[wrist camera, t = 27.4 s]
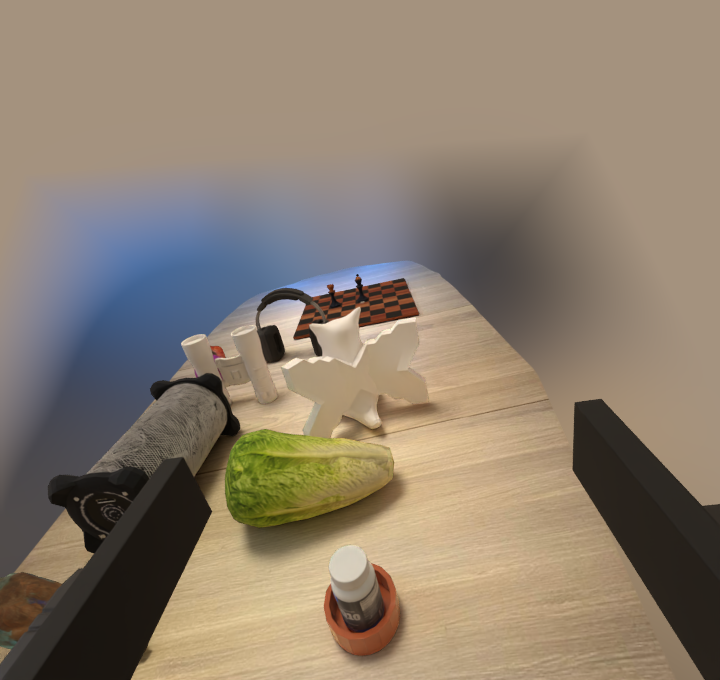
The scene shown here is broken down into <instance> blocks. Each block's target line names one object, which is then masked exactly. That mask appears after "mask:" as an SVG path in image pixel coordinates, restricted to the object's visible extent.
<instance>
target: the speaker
mask: <svg viewBox="0 0 720 680" xmlns="http://www.w3.org/2000/svg"><path fill="white" fill-rule="evenodd" d="M150 391H151V394H152V396H153V397H154V398H155V399H156V400H157V401H156V402H155V403H154V404H153V406H151V407H150V408H149V409H148V410H147V411H146V412H145V413H144V414H143V416H141V418H140V419H139V420H138V421H137V422H136V423H135V424H134V425H132V427H131V428H130V430H128V431H127V432H126V433H125V435H123V436H122V437H121V439H120V440H118V442H116V444H115V445H114V446H113V447H112V448H111V449H110V450H108V452H107V454H105V455H104V456H103V458H102V459H100V460H99V461H98V462H97V463H96V464H95V465H94V466H93V467H92V469H91V470H90V471H89V472H88V473H86V475H83V476H80V477H78V476H72V475H59V476H56V477H54V478H53V479H52V480H51V481H50V483H49V485H48V497H49V500H50V502H51V503H52V504H55V505H59V506H63V507H65V508H66V509H67V512H68V514H69V515H70V517H71V518H72V519H73V521H74V522H75V523H76V524H77V525H78V526H79V527H80V528H81V529H82V531H83V532H84V542H85V548H86V549H87V551H89V552H91V553H95V552H96V551H97V549H98V548H99V547H100V545H101V544H102V543H103V541H104V540H105V538H106V537H107V536H108V534H109V533H110V532H111V530H112V529H113V528H114V526H115V525H116V524H117V522H118V521H119V519H120V518H121V517H122V515H123V514H124V513H125V511H126V510H127V509H128V507H129V506H130V504H131V503H132V502H133V500H134V499H135V498H136V496H137V495H138V494H139V492H140V491H141V490H142V488H143V487H144V485H145V484H146V483H147V481H148V480H149V479H150V477H151V476H152V475H153V473H154V472H155V471H156V469H157V468H158V466H159V465H160V464H161V462H162V461H163V460H164V459H171V458H178V457H184V459H185V461H186V463H187V465H188V467H189V468H190V470H191V472H192V474H193V476H194V477H195V474H196V473H197V472H198V470H199V469H200V467H201V465H202V463H203V462H204V460H205V459H206V457H207V455H208V454H209V452H210V450H211V448H212V447H213V446H214V444H215V442H216V440H217V439H218V437H219V436H220V435H227V436H233V435H236V434H237V433H238V431H239V430H240V423H239V421H238V419H237V418H236V417H235V416H234V415H233V414H232V411H231V406H230V404H229V402H228V399H227V398H226V396H225V395H224V393H223V388H222V381H221V379H220V378H219V377H218V376H216V375H214V374H213V373H205V374H203V375H201V376H199V377H197V378H183V379H179V380H176V381H173V382H170V381H164V380H163V381H157V382H155V383H154V384H153V385H152V387H151V388H150Z"/></svg>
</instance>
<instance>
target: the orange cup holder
mask: <svg viewBox="0 0 720 680" xmlns="http://www.w3.org/2000/svg"><path fill="white" fill-rule="evenodd" d="M371 564H372V563H371ZM372 565H373V568H374V570H375V574H376V577H377V581H378V584H379V587H380V591H381V594H382V598H383V602H384V616H383V619H382V620H381V621H380V622H379V623H378V624H377V625H376V626H375V627H373V628H371V629H369V630H367V631H365V632H363V633H354V632H352V631H351V630H350V629H349V628H348V627H347V626H346V624H345V622H344V620H343V617H342V615H341V612H340V609H339V607H338V604H337V601H336V599H335V596H334V594H333V591H332V588H331V584H330V586H329V587H328V589H327V591H326V596H325V602H324V611H325V615H326V620H327V623H328V625H329V628H330V630H331V632H332V635H333V636H334V638H335V640H336V641H337V643H338V644H339V645H340V647H342V648H343V649H344V650H345V651H347V652H349V653H351V654H354V655H360V656H364V655H370V654H373V653H376V652H378V651H379V650H381V649H382V648H384V647H385V646H386V645H387V644H388V643H389V642H390V641H391V639H392V638H393V636H394V634H395V633H396V630H397V628H398V624H399V620H400V607H399V600H398V596H397V593H396V589H395V586H394V584H393V581H392V579H391V577H390V575H389V574H388V573H387V572H386V571H385V570H384V569H383V568H382V567H380V566H377V565H375V564H372Z"/></svg>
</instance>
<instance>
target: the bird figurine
mask: <svg viewBox="0 0 720 680" xmlns="http://www.w3.org/2000/svg"><path fill="white" fill-rule="evenodd" d="M61 585H62V584H60V583H58V582H56V581H52V580H49V579H46V578H42V577H38V576H35V575H32V574H28V573H24V572H21V573H11V574H9V575H7V576H6V577H3V578H0V646H1V647H4V648H8V649H12V648H13V647H14V645H15V644H16V643H17V642H18V640H19V639H20V638H21V636H22V635H23V634H24V632H27V631H28V629H29V628H28V627H29V626H30V624H31V623H32V622H33V621H34V619H35V618H36V617H37V615H38V614H41V613H42V609H43V607H44V606H45V605H46V603H47V602H48V601H49V600H50V598H51V597H52V596H53V594H54V593H55V592H56V590H57V589H58V588H59V587H60V586H61ZM147 646H148V645H147ZM146 648H147V647H146ZM145 650H146V649H145Z"/></svg>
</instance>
